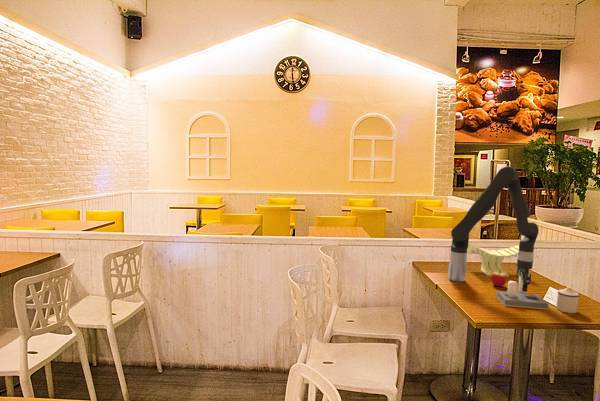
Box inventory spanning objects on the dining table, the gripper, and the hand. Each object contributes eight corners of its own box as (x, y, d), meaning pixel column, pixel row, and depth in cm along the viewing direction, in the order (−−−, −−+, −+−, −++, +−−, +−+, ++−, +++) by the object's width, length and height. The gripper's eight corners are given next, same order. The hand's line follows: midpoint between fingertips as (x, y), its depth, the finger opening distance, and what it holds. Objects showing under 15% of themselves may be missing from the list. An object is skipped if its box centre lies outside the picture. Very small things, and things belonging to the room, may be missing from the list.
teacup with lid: (581, 314, 201) (584, 290, 200) (562, 313, 201) (564, 289, 200) (567, 305, 213) (569, 283, 212) (548, 304, 213) (551, 282, 212)
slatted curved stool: (512, 270, 277) (515, 244, 275) (523, 277, 261) (526, 249, 259) (466, 267, 280) (468, 241, 278) (474, 274, 264) (476, 247, 262)
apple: (508, 286, 242) (509, 269, 241) (503, 289, 236) (504, 271, 235) (493, 282, 248) (494, 266, 247) (488, 285, 242) (489, 268, 241)
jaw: (507, 302, 213) (509, 283, 212) (504, 298, 217) (506, 280, 216) (517, 302, 212) (519, 283, 211) (514, 299, 217) (515, 281, 216)
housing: (504, 305, 209) (505, 299, 208) (496, 296, 223) (496, 291, 222) (547, 309, 206) (548, 303, 205) (536, 300, 219) (537, 294, 219)
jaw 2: (518, 295, 225) (520, 277, 224) (515, 293, 230) (517, 275, 229) (527, 296, 224) (529, 278, 223) (524, 293, 229) (526, 276, 228)
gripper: (513, 255, 233) (510, 284, 234) (522, 261, 218) (519, 292, 220) (527, 256, 231) (524, 285, 233) (538, 263, 217) (534, 294, 219)
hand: (522, 289), depth 227 cm, fingers open, 6 cm apart
